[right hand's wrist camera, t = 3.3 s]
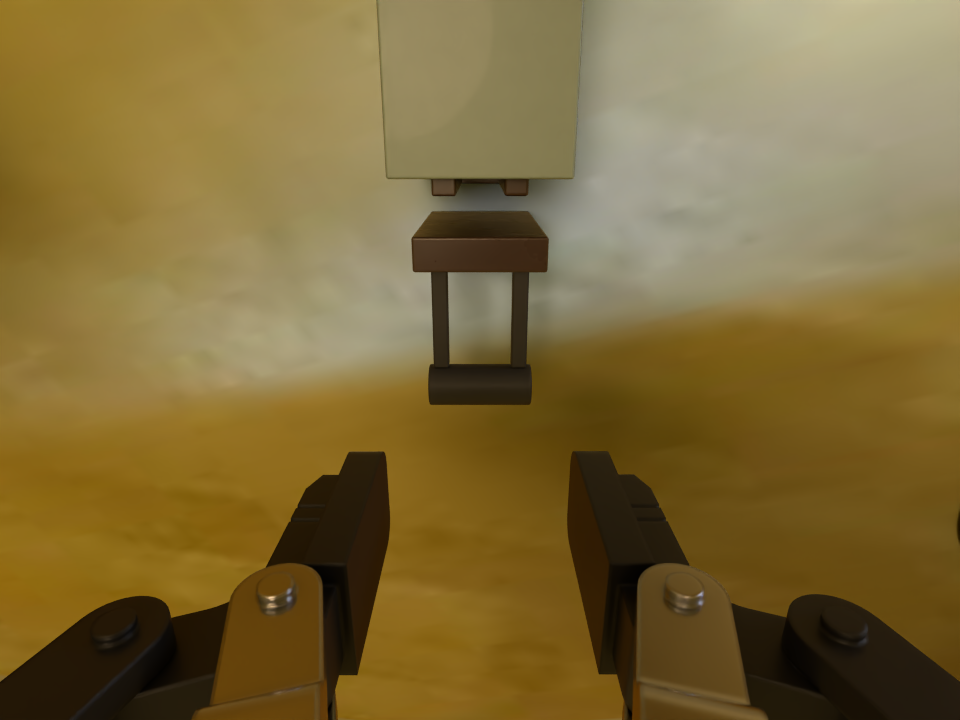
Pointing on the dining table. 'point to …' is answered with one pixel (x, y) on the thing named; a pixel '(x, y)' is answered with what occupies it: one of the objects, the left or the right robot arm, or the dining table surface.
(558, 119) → the cabinet
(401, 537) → the dining table surface
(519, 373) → the drawer
